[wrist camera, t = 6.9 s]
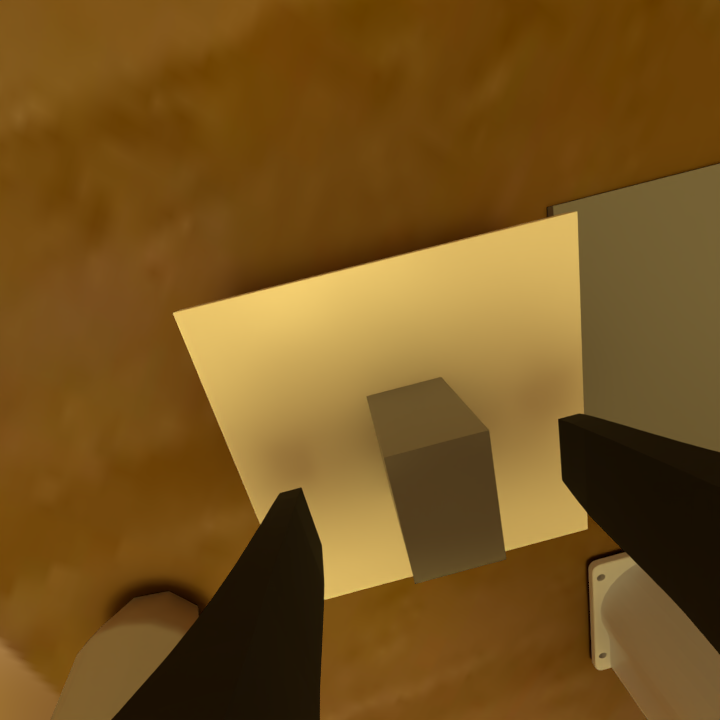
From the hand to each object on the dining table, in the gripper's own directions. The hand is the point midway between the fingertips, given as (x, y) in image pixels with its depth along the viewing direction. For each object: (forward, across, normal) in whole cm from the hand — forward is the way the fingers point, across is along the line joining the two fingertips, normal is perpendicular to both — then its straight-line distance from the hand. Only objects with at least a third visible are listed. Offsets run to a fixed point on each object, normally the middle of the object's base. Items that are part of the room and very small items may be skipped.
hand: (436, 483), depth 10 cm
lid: (+3, 0, 0) cm, 3 cm away
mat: (+7, -16, +2) cm, 18 cm away
